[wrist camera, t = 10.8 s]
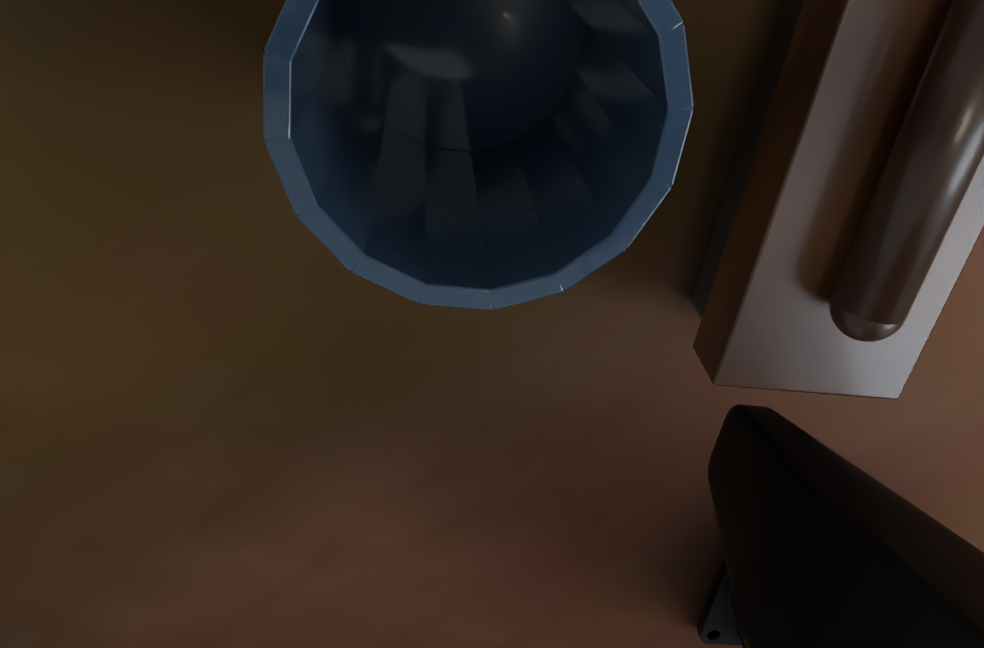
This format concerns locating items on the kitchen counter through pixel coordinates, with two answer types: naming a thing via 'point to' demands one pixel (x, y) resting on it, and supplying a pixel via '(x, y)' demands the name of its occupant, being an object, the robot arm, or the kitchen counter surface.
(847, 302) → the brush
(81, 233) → the kitchen counter surface
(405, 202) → the cup
